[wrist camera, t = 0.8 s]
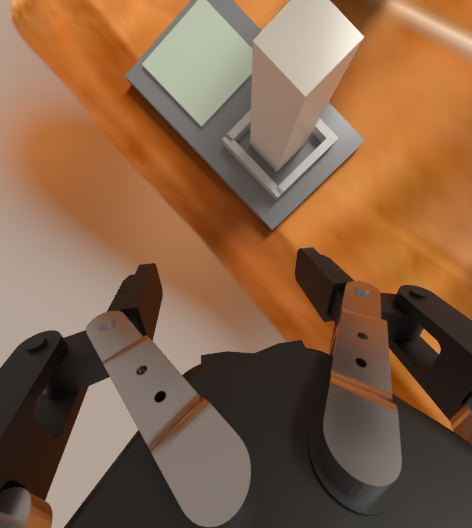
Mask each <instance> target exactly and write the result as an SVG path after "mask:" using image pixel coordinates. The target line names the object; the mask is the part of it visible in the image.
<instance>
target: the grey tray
mask: <svg viewBox="0 0 472 528" xmlns="http://www.w3.org/2000/svg"><path fill="white" fill-rule="evenodd" d="M260 32H261V30H260V29H259V28H258V26H257V25H256V24H255V23H254V22H253V21H252V20H251V19H250V18H249V17H248V16H247V15H246V14H245V13H244V12H243V11H242V10H241V8H240V7H239V6H238V5H237V4H236V3H235V2H234V1H233V0H191V1H190V2H189V4H188V5H187V6H186V7H185V8H184V9H183V10H182V12H181V13H180V14H179V15H178V16H177V17H176V18H175V19H174V21H173V22H172V23H171V24H170V25H169V26H168V27H167V29H166V30H165V31H164V32H163V33H162V34H161V35H160V37H159V38H158V39H157V40H156V41H155V42H154V43H153V45H152V46H151V47H150V48H149V49H148V50H147V51H146V53H145V54H144V55H143V56H142V57H141V58H140V59H139V60H138V62H137V63H136V64H135V65H134V66H133V67H132V68H131V70H130V71H129V72H128V73H127V74H126V75H125V77H126V78H127V79H128V81H129V82H130V84H131V85H132V86H133V87H134V88H135V89H136V90H137V91H138V92H139V93H140V94H141V95H142V96H143V97H144V99H145V100H146V101H147V102H148V103H149V104H150V105H151V106H152V107H153V108H154V109H155V110H156V111H157V112H158V113H159V114H160V115H161V116H162V117H163V118H164V119H165V120H166V122H167V123H168V124H169V125H170V126H171V127H172V128H173V129H174V130H175V131H176V132H177V133H178V134H179V135H180V136H181V137H182V138H183V139H184V140H185V141H186V142H187V143H188V144H189V146H190V147H191V148H192V149H193V150H194V151H195V152H196V153H197V154H198V155H199V156H200V157H201V158H202V159H203V160H204V161H205V162H206V163H207V164H208V165H209V166H210V167H211V169H212V170H213V171H214V172H215V173H216V174H217V175H218V176H219V177H220V178H221V179H222V180H223V181H224V182H225V183H226V184H227V185H228V186H229V187H230V188H231V189H232V190H233V191H234V193H235V194H236V195H237V196H238V197H239V198H240V199H241V200H242V201H243V202H244V203H245V204H246V205H247V206H248V207H249V208H250V209H251V210H252V211H253V212H254V213H255V214H256V216H257V217H258V218H259V219H260V220H261V221H262V222H263V223H264V224H265V225H266V226H267V227H268V228H269V229H270V230H271V231H272V230H273V229H274V228H275V227H276V226H277V225H278V224H279V223H280V222H281V221H282V220H284V219H285V218H286V217H287V216H288V215H289V214H290V213H291V212H292V211H293V210H294V209H295V208H296V207H297V206H298V205H299V204H300V203H301V202H302V201H303V200H304V199H305V198H306V197H307V196H309V195H310V194H311V193H312V192H313V191H314V190H315V189H316V188H317V187H318V186H319V185H320V184H321V183H322V182H323V181H324V180H325V179H326V178H327V177H328V176H329V175H330V174H331V173H332V172H333V171H335V170H336V169H337V168H338V167H339V166H340V165H341V164H342V163H343V162H344V161H345V160H346V159H347V158H348V157H349V156H350V155H351V154H352V153H353V152H354V151H355V150H356V149H357V148H358V147H360V146H361V145H362V144H363V143H364V142H365V140H364V139H363V138H362V137H361V136H360V135H359V134H358V133H357V132H356V131H355V129H354V128H353V127H352V126H351V125H350V124H349V123H348V122H347V121H346V120H345V119H344V118H343V117H342V116H341V115H340V114H339V112H338V111H337V110H336V109H335V108H334V107H333V106H332V105H331V104H330V103H329V102H328V104H327V106H326V108H325V109H324V111H323V113H322V115H321V117H320V118H319V120H318V122H317V124H316V126H315V128H314V129H313V131H312V133H311V135H310V137H309V138H308V140H307V142H306V144H305V145H304V146H303V147H302V148H301V149H300V150H299V151H298V152H297V153H296V154H295V155H294V156H293V157H292V158H291V159H290V160H289V161H288V162H287V163H286V164H285V165H284V166H283V167H282V168H281V169H280V170H279V171H278V172H276V171H275V170H274V169H273V168H272V167H271V166H270V165H269V164H268V163H267V162H266V161H265V160H264V159H263V158H262V157H261V155H260V154H259V153H258V152H257V151H256V150H255V149H254V148H253V147H252V146H251V145H250V130H251V89H252V49H253V40H254V39H255V38H256V37H257V36H258V35H259V33H260Z"/></svg>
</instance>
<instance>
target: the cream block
mask: <svg viewBox="0 0 472 528" xmlns="http://www.w3.org/2000/svg"><path fill="white" fill-rule="evenodd" d="M363 39H364V36H363V35H362V34H361V33H360V32H359V31H358V30H357V29H356V28H355V27H354V25H353V24H352V23H351V22H350V21H349V20H348V19H347V18H346V17H345V16H344V15H343V14H342V13H341V12H340V10H339V9H338V8H337V7H336V6H335V5H334V4H333V3H332V2H331V1H330V0H290V1H289V2H288V3H287V4H286V5H285V7H284V8H283V9H282V10H281V11H280V12H279V13H278V14H277V15H276V16H275V17H274V18H273V19H272V21H271V22H270V23H269V24H268V25H267V26H266V27H265V28H264V29H263V30H262V31H261V32H260V33H259V35H258V36H257V37H256V38H255V39H254V40H253V49H252V89H251V130H250V145H251V146H252V147H253V148H254V149H255V150H256V151H257V152H258V153H259V154H260V155H261V157H262V158H263V159H264V160H265V161H266V162H267V163H268V164H269V165H270V166H271V167H272V168H273V169H274V170H275V171H276V172H278V171H279V170H280V169H281V168H282V167H283V166H284V165H285V164H286V163H287V162H288V161H289V160H290V159H291V158H292V157H293V156H294V155H295V154H296V153H297V152H298V151H299V150H300V149H301V148H302V147H303V146H304V145H305V144H306V142H307V140H308V138H309V137H310V135H311V133H312V131H313V129H314V128H315V126H316V124H317V122H318V120H319V118H320V117H321V115H322V113H323V111H324V109H325V108H326V106H327V104H328V102H329V100H330V99H331V97H332V95H333V93H334V91H335V89H336V88H337V86H338V84H339V82H340V80H341V79H342V77H343V75H344V73H345V71H346V70H347V68H348V66H349V64H350V62H351V60H352V59H353V57H354V55H355V53H356V51H357V50H358V48H359V46H360V44H361V42H362V41H363Z"/></svg>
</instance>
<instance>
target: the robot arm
mask: <svg viewBox="0 0 472 528" xmlns="http://www.w3.org/2000/svg"><path fill="white" fill-rule="evenodd" d="M295 277H296V281H297V283H298V284H299V286H300V287H301V289H302V290H303V291H304V293H305V294H306V296H307V297H308V299H309V300H310V302H311V303H312V305H313V306H314V308H315V309H316V311H317V312H318V314H319V315H320V316H321V318H322V319H323V321H324V322H328V321H334V322H335V325H334V329H333V334H332V339H331V344H330V349H329V354H326V353H324V352H321V351H318V350H315V349H309V348H305V346H304V344H303V342H302V340H299V341H293V342H286V343H279V344H276V345H274V346H271V347H269V348H266V349H264V350H262V351H259V352H257V353H240V352H220V353H214V354H207V355H201V364H200V365H197V366H195V367H193V368H192V369H190V370H189V371H187V372H186V373H185V374H183V375H181V374H180V373H179V371H178V370H177V369H176V368H175V367H174V366H173V364H172V363H171V362H170V361H169V360H168V359H167V357H166V356H165V355H164V354H163V353H162V352H161V350H160V349H159V348H158V347H157V346H156V345H155V344H154V342H153V336H154V332H155V328H156V323H157V319H158V314H159V310H160V305H161V301H162V286H161V282H160V279H159V275H158V271H157V267H156V265H155V264H154V263H152V264H142V265H139V267H138V269H137V271H136V273H135V274H134V275H130V276H128V277H127V278H126V279H125V280H124V281H123V282H122V284H121V286H120V289H119V290H118V292H117V294H116V295H115V298H114V299H113V301H112V303H111V305H110V307H109V309H108V311H107V312H105V313H103V314H100V315H99V316H97V317H95V318H94V319H93V320H92V321H91V322H90V323H89V324H88V325H87V327H86V330H85V331H83V332H79V333H77V334H74V335H71V336H68V337H65V338H63V337H62V336H61V335H60V333H59V332H57V331H45V332H42V333H39V334H36V335H34V336H32V337H31V338H28V339H27V340H25V341H24V342H23V343H21V344H20V345H19V346H18V347H17V348H16V349H15V350H14V352H13V353H12V354H11V355H10V357H9V358H8V359H7V360H6V362H5V363H4V364H3V365H2V367H1V368H0V528H51V525H52V516H53V515H52V509H51V506H50V505H49V504H48V503H47V502H46V501H45V499H46V497H47V494H48V491H49V489H50V486H51V483H52V481H53V478H54V475H55V473H56V470H57V468H58V465H59V462H60V460H61V457H62V455H63V452H64V449H65V446H66V444H67V441H68V439H69V436H70V433H71V431H72V428H73V425H74V423H75V420H76V418H77V415H78V413H79V410H80V407H81V404H82V402H83V399H84V397H85V394H86V391H87V389H88V386H89V385H92V384H94V383H96V382H99V381H101V380H104V379H106V378H108V377H110V378H111V379H112V381H113V383H114V385H115V387H116V389H117V390H118V392H119V394H120V396H121V398H122V400H123V402H124V403H125V405H126V407H127V409H128V411H129V413H130V414H131V416H132V418H133V420H134V422H135V424H136V426H137V427H138V429H139V430H138V431H137V432H136V434H135V435H134V436H133V438H132V439H131V440H130V442H129V443H128V444H127V446H126V447H125V448H124V450H123V451H122V452H121V453H120V455H119V456H118V457H117V459H116V460H115V461H114V463H113V464H112V465H111V467H110V468H109V469H108V470H107V472H106V473H105V474H104V476H103V477H102V478H101V480H100V481H99V482H98V484H97V485H96V486H95V488H94V489H93V490H92V491H91V493H90V494H89V495H88V497H87V498H86V499H85V501H84V502H83V503H82V505H81V506H80V507H79V508H78V510H77V511H76V513H75V514H74V515H73V516H72V518H71V519H70V520H69V522H68V523H67V524H66V526H65V527H64V528H472V321H471V320H470V319H469V318H467V317H466V316H464V315H463V314H462V313H460V312H459V311H457V310H456V309H455V308H453V307H452V306H450V305H449V304H448V303H446V302H445V301H443V300H442V299H441V298H439V297H438V296H436V295H435V294H434V293H432V292H431V291H429V290H427V289H424V288H421V287H418V286H413V285H404V286H401V287H400V288H399V290H398V292H397V294H388V293H380V291H379V290H378V289H377V288H376V287H375V286H373V285H371V284H369V283H366V282H362V281H354V280H353V279H352V278H351V277H350V276H349V275H347V274H346V273H345V272H344V271H343V270H342V269H340V267H339V266H338V265H336V263H334V262H333V261H332V260H331V259H330V258H328V257H326V256H324V255H320V254H319V253H318V252H317V251H316V250H315V249H314V248H313V247H311V248H301V249H299V250H298V252H297V260H296V268H295ZM423 329H425V330H426V331H427V332H428V333H430V334H431V335H432V336H433V337H434V338H435V339H436V340H437V341H438V343H439V344H440V347H441V352H440V354H438V353H437V352H436V351H435V350H433V349H432V348H431V347H430V346H429V345H428V344H427V343H426V342H425V341H424V340H423V339H422V338H421V337H420V334H421V332H422V331H423ZM389 348H390V349H391V351H392V352H393V353H394V354H395V355H396V357H397V358H398V359H399V360H400V361H401V363H402V364H403V365H404V366H405V367H406V369H407V370H408V371H409V372H410V374H411V375H412V376H413V377H414V378H415V380H416V381H417V382H418V383H419V384H420V386H421V387H422V388H423V389H424V390H425V392H426V393H427V394H428V395H429V396H430V398H431V399H432V400H433V401H434V402H435V404H436V405H437V406H438V407H439V408H440V410H441V411H442V412H443V413H444V414H445V416H446V417H447V418H448V419H449V421H450V422H451V426H452V429H453V431H454V432H453V431H451V430H450V429H448V428H446V427H445V426H443V425H442V424H440V423H438V422H437V421H435V420H434V419H432V418H430V417H429V416H427V415H426V414H424V413H422V412H421V411H419V410H418V409H416V408H414V407H413V406H411V405H410V404H408V403H406V402H405V401H403V400H402V399H400V398H398V397H397V396H395V395H394V394H392V389H391V373H390V358H389ZM40 396H41V397H40ZM39 398H40V399H39ZM38 400H39V401H38Z"/></svg>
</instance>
